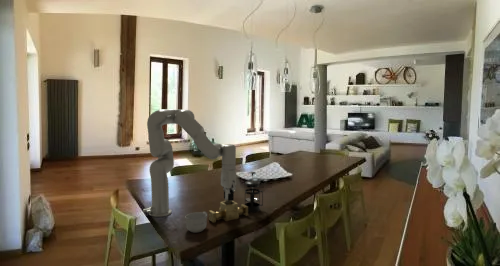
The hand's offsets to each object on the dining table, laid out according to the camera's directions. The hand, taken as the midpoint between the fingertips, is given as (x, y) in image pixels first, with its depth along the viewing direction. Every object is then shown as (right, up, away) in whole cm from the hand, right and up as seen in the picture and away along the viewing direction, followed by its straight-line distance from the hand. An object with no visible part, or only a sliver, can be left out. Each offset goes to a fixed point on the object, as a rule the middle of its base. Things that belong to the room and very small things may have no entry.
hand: (228, 199), depth 186 cm
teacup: (-14, -12, -16) cm, 25 cm away
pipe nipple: (0, -4, 0) cm, 4 cm away
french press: (+14, -10, +15) cm, 22 cm away
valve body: (0, -11, +1) cm, 11 cm away
